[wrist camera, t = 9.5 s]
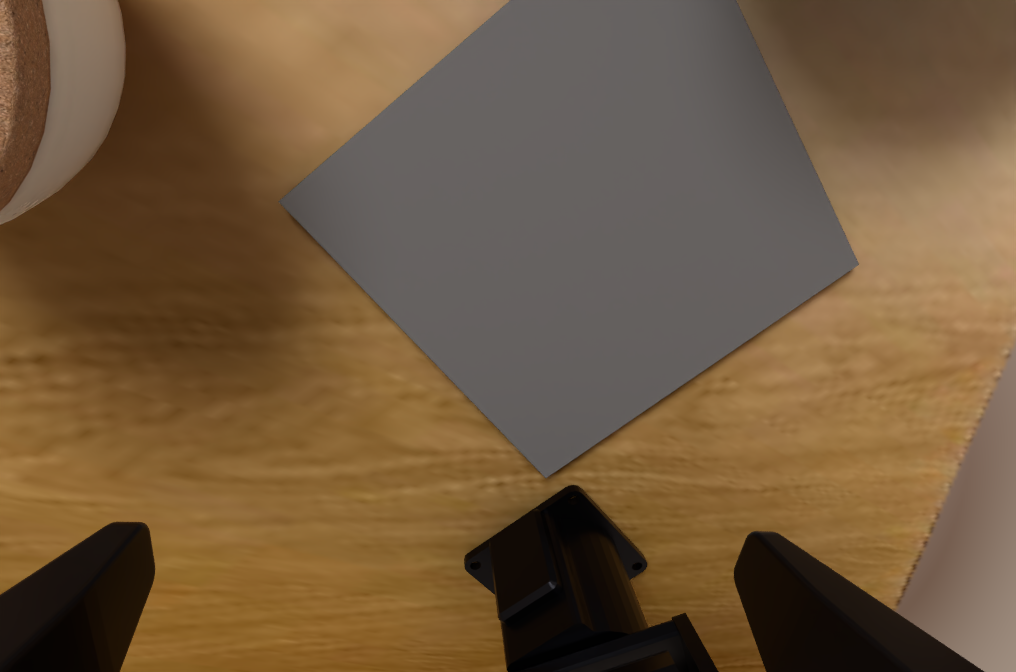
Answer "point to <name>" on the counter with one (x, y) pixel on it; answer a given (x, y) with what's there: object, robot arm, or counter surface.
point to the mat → (581, 211)
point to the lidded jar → (55, 93)
